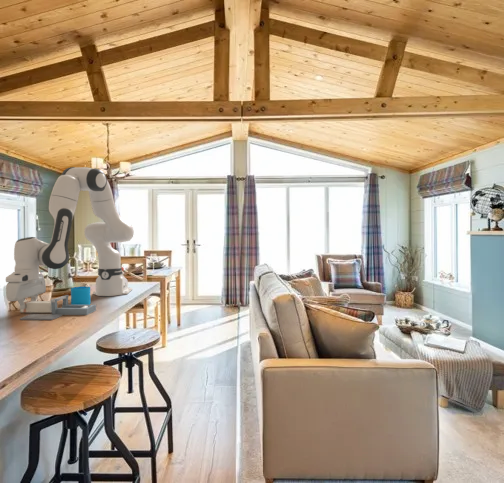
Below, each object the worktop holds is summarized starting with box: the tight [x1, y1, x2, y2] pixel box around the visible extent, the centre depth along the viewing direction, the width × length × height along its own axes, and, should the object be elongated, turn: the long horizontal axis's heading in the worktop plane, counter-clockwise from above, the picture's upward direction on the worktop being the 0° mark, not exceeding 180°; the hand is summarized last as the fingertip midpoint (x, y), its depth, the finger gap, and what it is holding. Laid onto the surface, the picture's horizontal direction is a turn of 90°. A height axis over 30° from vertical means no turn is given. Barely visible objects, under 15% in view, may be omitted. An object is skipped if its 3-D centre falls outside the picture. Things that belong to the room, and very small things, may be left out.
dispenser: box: [50, 294, 97, 316], centre depth 151 cm, size 14×10×6 cm
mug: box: [70, 285, 92, 305], centre depth 167 cm, size 12×8×8 cm
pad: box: [19, 313, 63, 321], centre depth 142 cm, size 7×13×1 cm, turn 87°
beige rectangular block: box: [19, 300, 52, 314], centre depth 151 cm, size 13×4×4 cm, turn 87°
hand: (28, 307), depth 152 cm, fingers closed on beige rectangular block, 4 cm apart
